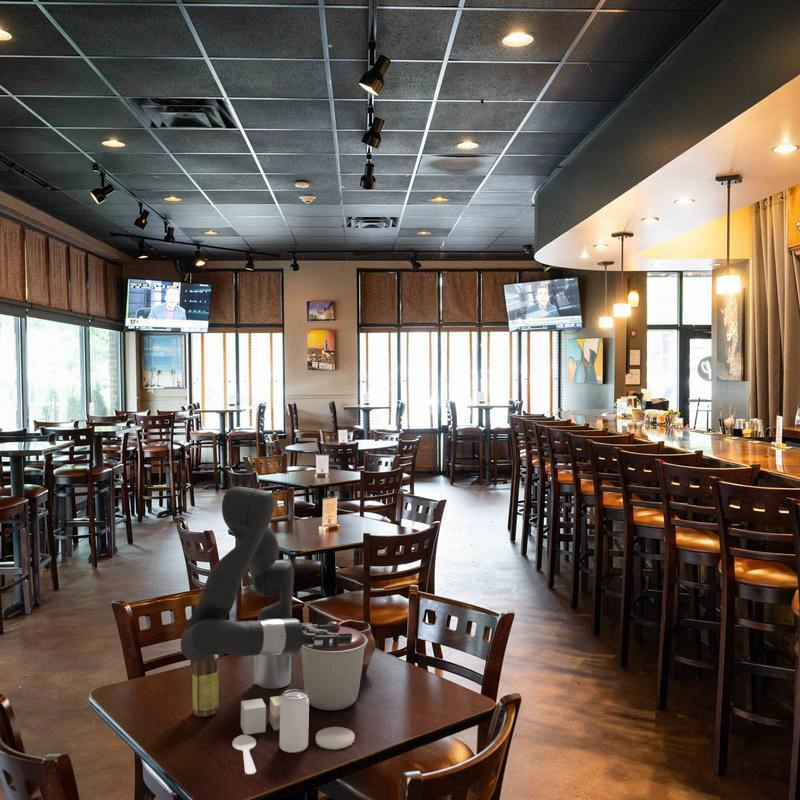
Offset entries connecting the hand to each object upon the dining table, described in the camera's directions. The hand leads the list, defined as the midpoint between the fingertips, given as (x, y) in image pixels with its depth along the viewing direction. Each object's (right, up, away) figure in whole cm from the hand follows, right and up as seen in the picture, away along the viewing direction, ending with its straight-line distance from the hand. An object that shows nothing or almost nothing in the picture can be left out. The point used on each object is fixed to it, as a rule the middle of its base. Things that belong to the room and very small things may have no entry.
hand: (341, 633), depth 167 cm
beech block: (-15, -25, +11) cm, 32 cm away
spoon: (-21, -26, -4) cm, 34 cm away
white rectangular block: (-22, -25, +8) cm, 35 cm away
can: (-11, -26, 0) cm, 28 cm away
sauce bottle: (-35, -25, +16) cm, 46 cm away
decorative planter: (0, -26, +44) cm, 51 cm away
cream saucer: (-2, -26, +4) cm, 26 cm away
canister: (-5, -26, +24) cm, 36 cm away
